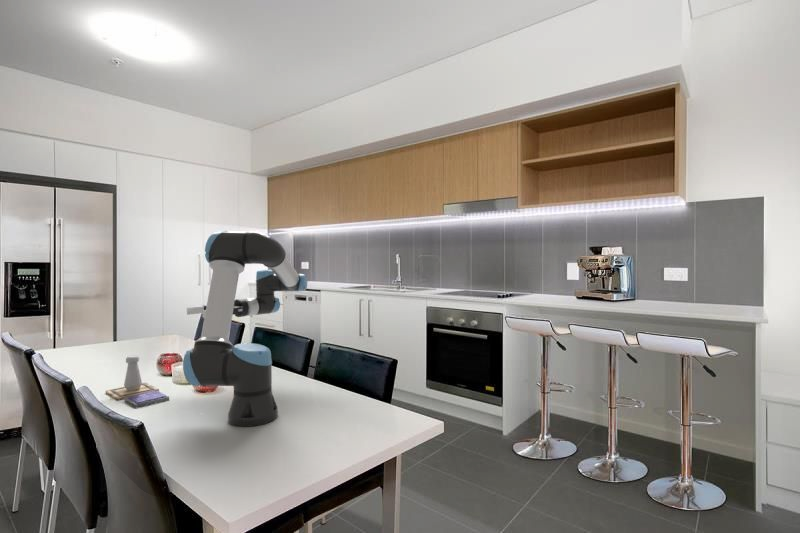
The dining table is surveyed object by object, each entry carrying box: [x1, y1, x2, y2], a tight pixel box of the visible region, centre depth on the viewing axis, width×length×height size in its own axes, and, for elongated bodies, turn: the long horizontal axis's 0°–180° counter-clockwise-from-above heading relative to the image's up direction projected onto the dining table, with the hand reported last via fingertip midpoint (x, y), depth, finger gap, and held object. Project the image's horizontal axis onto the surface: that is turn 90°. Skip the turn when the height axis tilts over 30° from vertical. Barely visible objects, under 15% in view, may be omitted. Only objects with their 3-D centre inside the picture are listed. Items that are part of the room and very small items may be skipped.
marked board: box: [105, 382, 160, 401], centre depth 170 cm, size 14×14×1 cm
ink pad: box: [124, 390, 170, 409], centre depth 160 cm, size 11×11×2 cm
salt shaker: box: [123, 355, 143, 391], centre depth 170 cm, size 6×6×13 cm
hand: (194, 312), depth 172 cm, fingers open, 13 cm apart
